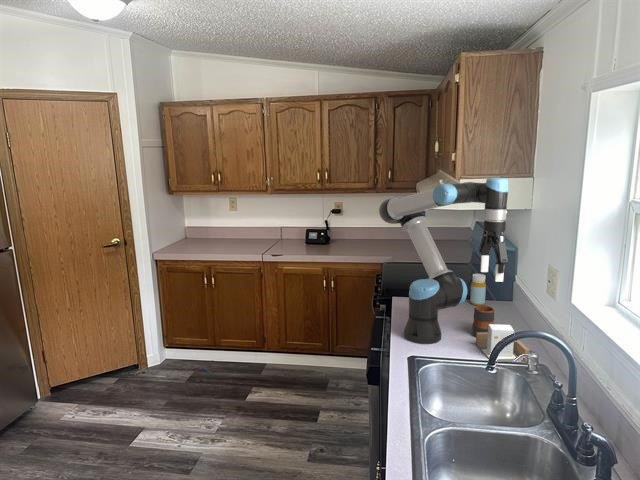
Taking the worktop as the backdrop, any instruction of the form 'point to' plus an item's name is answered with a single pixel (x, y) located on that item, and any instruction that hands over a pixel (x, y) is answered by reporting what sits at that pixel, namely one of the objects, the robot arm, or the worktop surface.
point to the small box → (499, 338)
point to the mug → (482, 319)
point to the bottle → (478, 289)
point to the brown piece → (517, 350)
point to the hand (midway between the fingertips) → (491, 276)
